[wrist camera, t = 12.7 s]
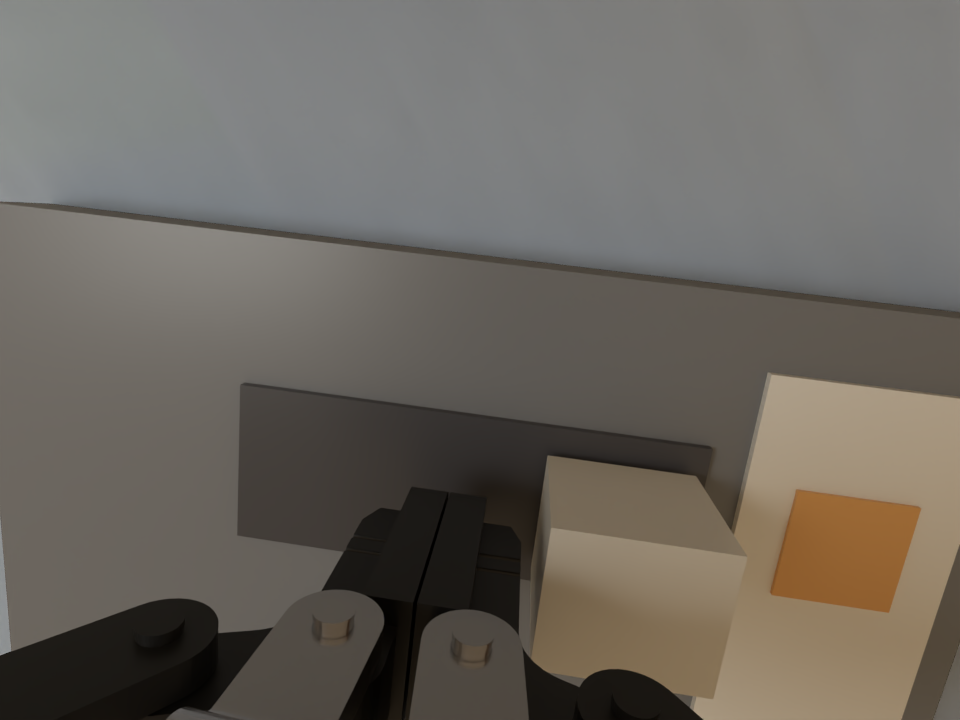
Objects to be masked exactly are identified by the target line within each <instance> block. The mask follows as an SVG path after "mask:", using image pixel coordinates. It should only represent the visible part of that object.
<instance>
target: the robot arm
mask: <svg viewBox="0 0 960 720" xmlns="http://www.w3.org/2000/svg"><path fill="white" fill-rule="evenodd" d="M486 503H487V497H482V496H475V495H468V494H461V493H454V492H450V495H449V492H446V491H439V490H432V489H426V488H419V487H411V489H410V491H409V493H408V495H407V497H406V500H405V502H404V504H403V506H402V508H401V510H394V509H387V508H379V509H377V510H376V511H374V512H373V513H371V514H370V515H368V516H366V517H365V518H363V519H362V521H361V522H360V524H359V526H358V528H357V529H356V531H355V533H354V535H353V538H351V540H350V542H349V543H348V545H347V547H346V551H344V552H343V554H342V556H341V557H340V559H339V561H338V563H337V564H336V566H335V568H334V570H333V571H332V573H331V575H330V577H329V578H328V580H327V582H326V584H325V585H324V587H323V589H322V591H320V592H316V593H312V594H310V595H307V596H305V597H303V598H301V599H299V600H297V601H296V602H295V603H293V604H292V605H291V606H290V607H289V608H288V609H287V610H286V612H285V613H284V614H283V616H282V617H281V618H280V619H279V621H278V622H277V623H276V625H275V626H274V627H272V628H267V629H261V630H252V631H238V632H225V633H218V624H219V621H218V617H217V615H216V613H215V612H214V610H213V609H212V608H210V607H209V606H208V605H206V604H204V603H202V602H199V601H196V600H191V599H182V598H172V599H162V600H157V601H152V602H148V603H145V604H142V605H139V606H136V607H133V608H131V609H128V610H125V611H122V612H119V613H117V614H114V615H111V616H108V617H106V618H103V619H100V620H97V621H94V622H92V623H89V624H86V625H83V626H81V627H78V628H75V629H72V630H70V631H67V632H64V633H61V634H58V635H56V636H53V637H50V638H47V639H45V640H42V641H39V642H36V643H34V644H31V645H28V646H25V647H22V648H20V649H17V650H14V651H11V652H9V653H6V654H3V655H0V720H703V719H702V718H701V717H700V716H699V715H697V714H696V713H695V712H694V711H693V710H692V709H691V708H689V707H688V706H687V705H686V704H685V703H684V702H683V701H681V700H680V699H679V698H678V697H677V696H676V695H675V694H673V693H672V692H671V691H670V690H669V689H667V688H666V687H665V686H663V685H662V684H660V683H659V682H657V681H655V680H654V679H652V678H649V677H647V676H645V675H642V674H640V673H637V672H633V671H629V670H622V669H607V670H601V671H598V672H595V673H593V674H591V675H590V676H588V677H587V678H586V679H585V680H584V681H583V682H582V684H581V685H580V687H578V686H576V685H573V684H571V683H569V682H566V681H564V680H561V679H559V678H557V677H555V676H553V675H551V674H549V673H548V672H546V671H545V670H543V669H542V668H540V667H539V666H538V665H537V664H535V663H534V661H533V660H532V659H531V658H530V657H529V656H528V655H527V653H526V652H525V651H524V649H523V647H522V643H521V640H520V638H519V606H520V572H521V563H520V562H521V541H520V540H519V538H518V537H517V535H516V534H515V532H514V531H513V529H512V528H511V527H510V526H504V525H497V524H490V523H484V519H485V511H486Z"/></svg>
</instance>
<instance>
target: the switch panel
mask: <svg viewBox="0 0 960 720" xmlns="http://www.w3.org/2000/svg"><path fill="white" fill-rule="evenodd" d="M548 455H549V456H557V457H564V458H571V459H578V460H585V461H592V462H599V463H607V464H614V465H621V466H628V467H635V468H642V469H649V470H656V471H664V472H671V473H678V474H685V475H692V476H696V477H697V478H698V480H699V481H700V483H701V484H702V486H703V488H704V489H705V491H706V492H707V494H708V495H709V497H710V499H711V500H712V502H713V503H714V505H715V506H716V508H717V510H718V511H719V513H720V514H721V516H722V517H723V519H724V521H725V522H726V524H727V525H728V527H729V528H730V530H731V531H732V533H733V535H734V536H735V538H736V539H737V541H738V542H739V544H740V546H741V547H742V549H743V550H744V552H745V553H746V555H747V557H748V558H747V562H746V566H745V570H744V574H743V578H742V582H741V586H740V591H739V595H738V599H737V603H736V607H735V611H734V615H733V620H732V624H731V628H730V632H729V636H728V640H727V644H726V649H725V653H724V657H723V661H722V665H721V669H720V673H719V678H718V682H717V686H716V690H715V694H714V698H713V699H707V698H701V697H695V696H689V695H683V694H677V693H673V694H675V695H676V696H677V697H678V698H679V699H680V700H681V701H683V702H684V703H685V704H686V705H687V706H688V707H689V708H691V709H692V710H693V711H694V712H695V713H696V714H697V715H699V716H700V717H701V718H702V719H703V720H933V718H934V715H935V712H936V709H937V706H938V703H939V701H940V698H941V695H942V692H943V689H944V686H945V683H946V680H947V677H948V675H949V672H950V669H951V666H952V663H953V660H954V657H955V654H956V651H957V649H958V646H959V643H960V312H952V311H944V310H935V309H927V308H919V307H910V306H902V305H893V304H885V303H877V302H868V301H860V300H852V299H843V298H835V297H827V296H818V295H810V294H801V293H793V292H785V291H776V290H768V289H760V288H751V287H743V286H734V285H726V284H718V283H709V282H701V281H693V280H684V279H676V278H667V277H659V276H651V275H642V274H634V273H626V272H617V271H609V270H601V269H592V268H584V267H575V266H567V265H559V264H550V263H542V262H534V261H525V260H517V259H508V258H500V257H492V256H483V255H475V254H467V253H458V252H450V251H441V250H433V249H425V248H416V247H408V246H400V245H391V244H383V243H375V242H366V241H358V240H349V239H341V238H333V237H324V236H316V235H308V234H299V233H291V232H282V231H274V230H266V229H257V228H249V227H241V226H232V225H224V224H216V223H207V222H199V221H190V220H182V219H174V218H165V217H157V216H149V215H140V214H132V213H123V212H115V211H107V210H98V209H90V208H82V207H73V206H65V205H56V204H46V203H23V202H0V517H1V529H2V542H3V554H4V566H5V578H6V591H7V603H8V615H9V627H10V640H11V651H14V650H17V649H20V648H22V647H25V646H28V645H31V644H34V643H36V642H39V641H42V640H45V639H47V638H50V637H53V636H56V635H58V634H61V633H64V632H67V631H70V630H72V629H75V628H78V627H81V626H83V625H86V624H89V623H92V622H94V621H97V620H100V619H103V618H106V617H108V616H111V615H114V614H117V613H119V612H122V611H125V610H128V609H131V608H133V607H136V606H139V605H142V604H145V603H148V602H152V601H157V600H162V599H172V598H182V599H191V600H196V601H199V602H202V603H204V604H206V605H208V606H209V607H210V608H212V609H213V610H214V612H215V613H216V615H217V617H218V621H219V624H218V633H225V632H238V631H252V630H261V629H267V628H272V627H274V626H275V625H276V623H277V622H278V621H279V619H280V618H281V617H282V616H283V614H284V613H285V612H286V610H287V609H288V608H289V607H290V606H291V605H292V604H293V603H295V602H296V601H297V600H299V599H301V598H303V597H305V596H307V595H310V594H312V593H316V592H320V591H322V589H323V587H324V585H325V584H326V582H327V580H328V578H329V577H330V575H331V573H332V571H333V570H334V568H335V566H336V564H337V563H338V561H339V559H340V557H341V556H342V554H343V552H344V551H346V547H347V545H348V543H349V542H350V540H351V538H353V535H354V533H355V531H356V529H357V528H358V526H359V524H360V522H361V521H362V519H363V518H365V517H366V516H368V515H370V514H371V513H373V512H374V511H376V510H377V509H379V508H387V509H394V510H401V508H402V506H403V504H404V502H405V500H406V497H407V495H408V493H409V491H410V489H411V487H419V488H426V489H432V490H439V491H446V492H449V495H450V492H454V493H461V494H468V495H475V496H482V497H487V503H486V511H485V519H484V523H490V524H497V525H504V526H510V527H511V528H512V529H513V531H514V532H515V534H516V535H517V537H518V538H519V540H520V541H521V562H520V563H521V572H520V606H519V638H520V640H521V643H522V647H523V649H524V651H525V652H526V653H527V655H528V656H529V657H530V593H531V564H532V557H533V550H534V544H535V537H536V530H537V523H538V517H539V510H540V503H541V496H542V490H543V483H544V476H545V469H546V463H547V456H548ZM549 674H551V675H553V676H555V677H557V678H559V679H561V680H564V681H566V682H569V683H571V684H573V685H576V686H578V687H580V685H581V684H582V682H583V681H584V680H585V678H579V677H573V676H567V675H560V674H554V673H549Z"/></svg>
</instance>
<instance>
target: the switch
mask: <svg viewBox="0 0 960 720" xmlns="http://www.w3.org/2000/svg"><path fill="white" fill-rule="evenodd" d="M747 558H748V557H747V555H746V553H745V552H744V550H743V549H742V547H741V546H740V544H739V542H738V541H737V539H736V538H735V536H734V535H733V533H732V531H731V530H730V528H729V527H728V525H727V524H726V522H725V521H724V519H723V517H722V516H721V514H720V513H719V511H718V510H717V508H716V506H715V505H714V503H713V502H712V500H711V499H710V497H709V495H708V494H707V492H706V491H705V489H704V488H703V486H702V484H701V483H700V481H699V480H698V478H697V477H696V476H692V475H685V474H678V473H671V472H664V471H656V470H649V469H642V468H635V467H628V466H621V465H614V464H607V463H599V462H592V461H585V460H578V459H571V458H564V457H557V456H549V455H548V456H547V463H546V469H545V476H544V483H543V490H542V496H541V503H540V510H539V517H538V523H537V530H536V537H535V544H534V550H533V557H532V564H531V593H530V658H531V659H532V660H533V661H534V663H535V664H537V665H538V666H539V667H540V668H542V669H543V670H545V671H546V672H548V673H554V674H560V675H567V676H573V677H579V678H585V679H586V678H587V677H588V676H590V675H591V674H593V673H595V672H598V671H601V670H607V669H622V670H629V671H633V672H637V673H640V674H642V675H645V676H647V677H649V678H652V679H654V680H655V681H657V682H659V683H660V684H662V685H663V686H665V687H666V688H667V689H669V690H670V691H671V692H672V693H677V694H683V695H689V696H695V697H701V698H707V699H713V698H714V694H715V690H716V686H717V682H718V678H719V673H720V669H721V665H722V661H723V657H724V653H725V649H726V644H727V640H728V636H729V632H730V628H731V624H732V620H733V615H734V611H735V607H736V603H737V599H738V595H739V591H740V586H741V582H742V578H743V574H744V570H745V566H746V562H747Z"/></svg>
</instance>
